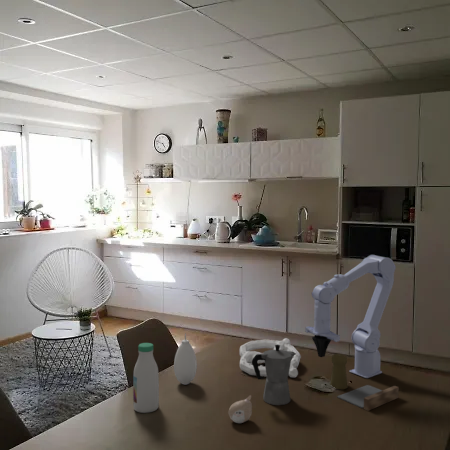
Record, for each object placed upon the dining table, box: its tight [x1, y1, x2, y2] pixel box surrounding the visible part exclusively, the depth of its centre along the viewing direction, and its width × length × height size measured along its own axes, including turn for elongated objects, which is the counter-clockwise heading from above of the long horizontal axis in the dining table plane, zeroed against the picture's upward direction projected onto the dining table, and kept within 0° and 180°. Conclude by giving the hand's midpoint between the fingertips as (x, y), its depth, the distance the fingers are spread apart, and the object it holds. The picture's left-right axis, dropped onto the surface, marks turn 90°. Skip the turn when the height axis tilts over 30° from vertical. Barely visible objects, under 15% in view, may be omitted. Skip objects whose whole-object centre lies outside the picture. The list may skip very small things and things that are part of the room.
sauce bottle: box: [173, 333, 198, 386], centre depth 167 cm, size 8×8×18 cm
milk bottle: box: [132, 342, 160, 414], centre depth 147 cm, size 8×8×20 cm
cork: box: [329, 353, 348, 390], centre depth 166 cm, size 6×6×11 cm
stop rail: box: [363, 385, 400, 412], centre depth 152 cm, size 16×2×4 cm, turn 127°
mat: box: [337, 384, 382, 409], centre depth 157 cm, size 16×10×1 cm, turn 127°
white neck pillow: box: [239, 337, 302, 379], centre depth 186 cm, size 28×24×6 cm
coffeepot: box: [251, 345, 296, 406], centre depth 154 cm, size 15×9×18 cm, turn 110°
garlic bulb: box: [227, 394, 253, 424], centre depth 139 cm, size 7×6×8 cm
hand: (321, 356), depth 172 cm, fingers closed
